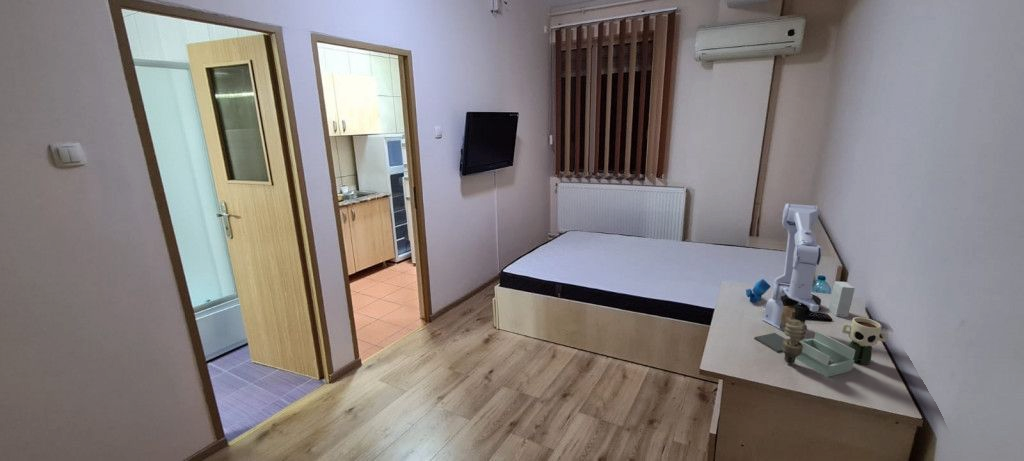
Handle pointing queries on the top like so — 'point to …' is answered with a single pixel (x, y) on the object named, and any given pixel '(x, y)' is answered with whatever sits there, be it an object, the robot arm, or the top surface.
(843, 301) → the skincare box
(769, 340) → the mat
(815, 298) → the smart speaker
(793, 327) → the light bulb
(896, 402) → the top surface
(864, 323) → the character mug
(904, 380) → the top surface
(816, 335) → the pale green open tray
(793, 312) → the walnut box
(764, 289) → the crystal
